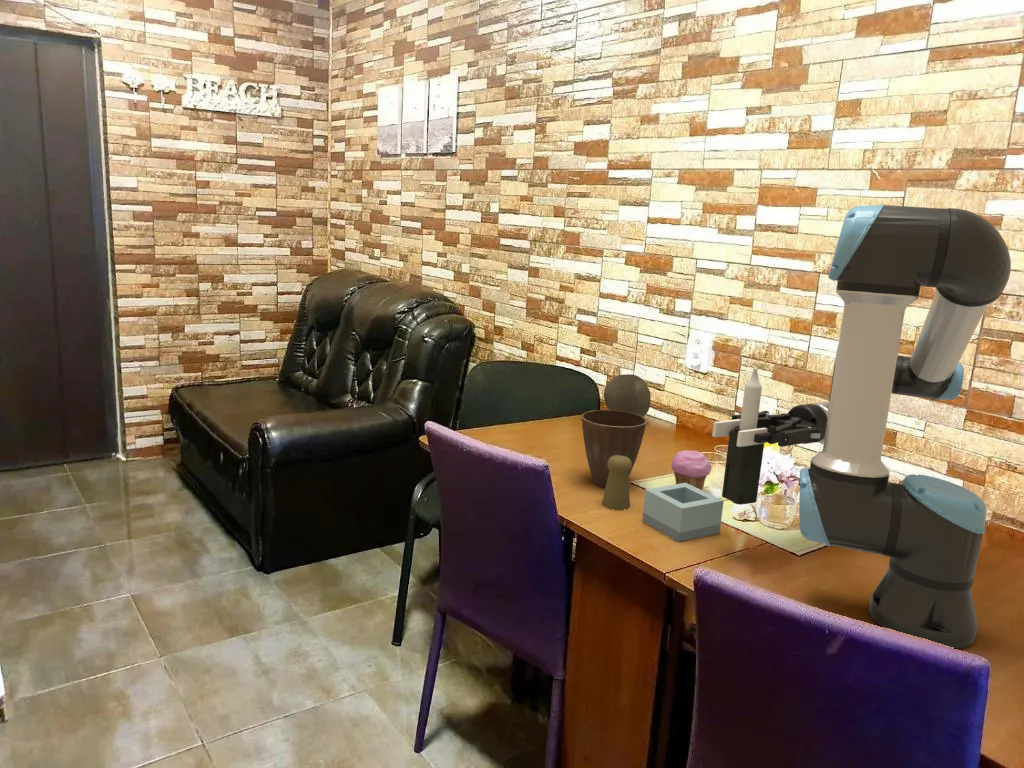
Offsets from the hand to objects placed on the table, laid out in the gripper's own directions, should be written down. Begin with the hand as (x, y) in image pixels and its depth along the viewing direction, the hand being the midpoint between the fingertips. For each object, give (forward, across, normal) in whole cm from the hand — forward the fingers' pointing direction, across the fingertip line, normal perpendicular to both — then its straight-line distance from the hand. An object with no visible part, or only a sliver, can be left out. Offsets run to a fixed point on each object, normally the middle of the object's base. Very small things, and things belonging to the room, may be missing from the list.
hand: (726, 434), depth 133 cm
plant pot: (-6, +41, -24) cm, 48 cm away
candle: (-5, 0, -13) cm, 14 cm away
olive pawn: (0, +29, -24) cm, 38 cm away
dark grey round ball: (-45, +84, -25) cm, 98 cm away
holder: (-5, +14, -24) cm, 28 cm away
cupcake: (-21, +29, -24) cm, 43 cm away
